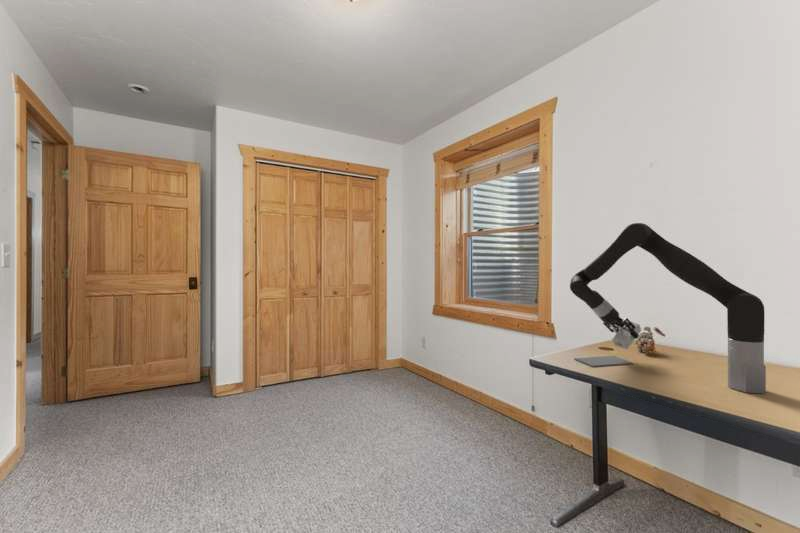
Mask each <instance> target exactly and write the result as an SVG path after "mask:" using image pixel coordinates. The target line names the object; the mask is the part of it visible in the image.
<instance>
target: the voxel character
mask: <svg viewBox="0 0 800 533" xmlns="http://www.w3.org/2000/svg"><path fill="white" fill-rule="evenodd" d="M642 329H643V332H640V333H639V334H638V335H639V336H638V338H637V339H635V340H634V342H635V343H634V344H635V345H637V351H638V352H641V353H644V354H645V355H648V356H651V355H652V354H656V353H658V351H657V349H656V347H655V344H656V343H655V340H654V333H655V332H656V333H657V334H658V335H659V336H660V335H661V336H662V337H663V338H665V337H666V334H665V333H664V332H663V331H661V330H660V329H659V328H658V327H656V326H654V327H653V328H652V329H651V327H649V326H644V327H643V328H642ZM652 330H654V331H655V332H654V333H653V332H652ZM644 331H647V332H644ZM650 352H651V353H650Z"/></svg>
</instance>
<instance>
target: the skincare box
mask: <svg viewBox="0 0 800 533" xmlns="http://www.w3.org/2000/svg"><path fill="white" fill-rule="evenodd" d="M630 322H631V323H632V324H633V325H634V326H635V327H636V328H635V329H634V331H635V332H636V333H637V334H638V335H639V334H641V331H642V328H641V326H640V324H639V323H635V322H633V321H630ZM623 327H625V325H624V326H623ZM631 327H632V326H631ZM619 329H620V328H619ZM627 329H628V328H627ZM628 330H629V329H628ZM635 341H636V339H635V338H634V337H633V336H632V335H631V334H630V333H629V332H627V331H626V330H622V329H620V330H619V331H618V332H617V333H615V335H614V337H613V338H612V342H613V345H615V347H619V348H621V349H625V350H629V348H630V347H631V345H632V344H633V343H634V342H635Z"/></svg>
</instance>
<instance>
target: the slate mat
mask: <svg viewBox="0 0 800 533" xmlns="http://www.w3.org/2000/svg"><path fill="white" fill-rule="evenodd" d="M574 360H575V361H577V362H579V363H582V364H584V365H586V366H589V367H590V368H595V367H596V368H598V367H610V366H612V367H613V366H624V365H626V366H627V365H634V362H633V361H629V360H627V359H623V358H622V357H618V356H616V355H604V356H603V355H602V356H591V357H575V358H574Z"/></svg>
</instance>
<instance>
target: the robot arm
mask: <svg viewBox="0 0 800 533" xmlns="http://www.w3.org/2000/svg"><path fill="white" fill-rule="evenodd" d="M636 247H638V248H641V249H643V250H644V251H646V252H648V253H649V254H651V255H652V256H653V257H654V258H655V259H656V260H658V261H659V262H660V264H662V266H664V268H666V269H667V270H668V271H669V272H670V273H671V274H673V275H674V276H675V277H677V278H678V279H680V280H682V281H683V282H684V283H686V284H688V285H689V286H692V287H694V288H696V289H697V290H700V291H701V292H703V293H705V294H707V295H709V296H711V297H712V298H713V299H715V300H716V301H717V302H719V303H720V304H721V305H722V306H723V307H725V308H726V309H727V314H726V315H727V316H726V318H727V320H726V321H727V326H726V327H727V330H726V331H727V387H729V389H730V388H731V389H732V390H736V391H740V392H742V393H751V394H766V393H767V391H766V390H767V387H766V386H767V380H766V379H767V373H766V372H767V367H766V365H765V305H764V303H763V301H762V300H761V298H759V297H758V296H756V295H755V294H753V293H750V292H748V291H746V290H745V289H742V288H741V287H739V286H737V285H735V284H734V283H732V282H730V281H729V280H727V279H726V278H724V277H723V276H722V275H721V274H719V273H718V272H717V271H715V269H713V268H712V267H710V266H709V265H707V264H706V263H705V262H704V261H702V260H701V259H699V258H697V257H696V256H694V255H692V254H691V253H689V252H687V251H686V250H685V249H683V248H681V247H679V246H677V245H675V244H673V243H671V242H670V241H668V240H666V239H665V238H664V237H662V236H661V235H660V234H659V233H657V232H656V231H655V230H653V228H651V227H650V226H649V225H647V224H646V223H641V222H636V223H635V222H634V223H630V224H628V225H627V226H625V228H624V229H623V230H622V232H621V233H619V235H618V237H617V238H616V239H615V240H614V241H613V242H612V243H611V244H610V245H609V246H608V247H607V248H606V249H605V250H604V251H603V252H602V253H601V254H599V255H598V256H597V257H596V258H595V259H593V260H592V261H591V262H590V263H589V264H588V265H587V266H586V267H584V268H583V269H582V270H580V271H578V272H577V273H575V274H574V275H573V276H572V277H571V278H570V284H569V289H570V291H571V292H572V294H574V296H575V297H577V298H578V299H580V300H581V301H583V302H584V303H585V304H586V305H587V306H588V307H589V308H590V309H591V310H592V311H593V313H594V314H595V315H596V316H597V317H598V318H599V319H600V320H601V321H602V322H603V323H602V324H603V325H604V327H606V329H608V330H609V332H611V333H614V334H617V332H618V331H619V330H620V329H622V330H626V331H627V332H629V333H630V334H631V335H632V336H633V337H634V338H635V340H636V339H637V338H638V336H639V334H637V333H636V332H635V331H634V329H635V328H636V327H635V326H634V325H633V324H632V323H631V322H632V321H631V320H630V319H629V318H628V317H625V318H621V317H620V313H619V312H618V310H617V309H616V308H615V307H614V306H613V305H612V304H611V303H610V302H609V301H608V300H606V299H605V298H604V297H603V296H602V294H600V293H599V292H598V291H597V290H593V289H591V287H589V285H588V284H590V283H591V282H593V281H596V280H598V279H601V277H602V276H604V275H605V274H606V273H607V272H609V270H610V269H612V267H613V266H614V265H615V264H616V263H617V262H618V261H619V260H620V259H621V258H622V257H623V256H624V255H625V254H627V253H629V251H631V250H633V249H634V248H636ZM624 325H625V327H623V326H624ZM631 326H632V327H631ZM627 328H628V329H629V330H628V329H627Z"/></svg>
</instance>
